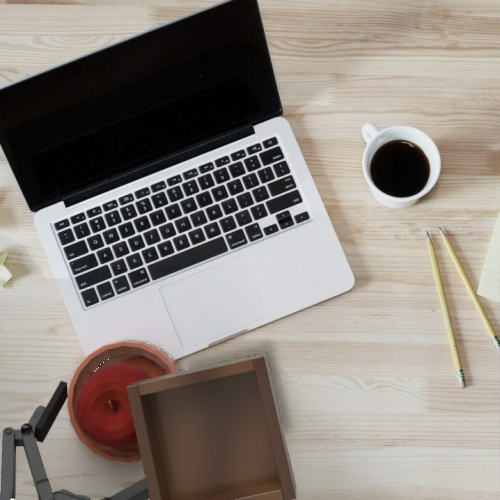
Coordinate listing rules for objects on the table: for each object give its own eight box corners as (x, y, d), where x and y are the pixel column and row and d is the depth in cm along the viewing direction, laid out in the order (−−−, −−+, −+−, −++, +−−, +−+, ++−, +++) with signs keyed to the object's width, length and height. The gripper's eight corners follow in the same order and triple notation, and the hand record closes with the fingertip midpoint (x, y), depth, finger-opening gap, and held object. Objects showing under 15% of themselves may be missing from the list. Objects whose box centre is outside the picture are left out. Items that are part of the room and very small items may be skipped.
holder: (164, 514, 63) (155, 528, 59) (136, 381, 64) (126, 386, 60) (296, 486, 63) (296, 499, 59) (266, 352, 64) (263, 356, 60)
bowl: (88, 467, 88) (80, 473, 85) (65, 353, 89) (56, 356, 86) (200, 442, 87) (196, 448, 84) (175, 329, 88) (170, 330, 85)
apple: (180, 421, 87) (165, 438, 77) (108, 448, 88) (83, 468, 78) (154, 348, 88) (135, 355, 78) (82, 375, 88) (55, 385, 78)
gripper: (-82, 564, 70) (21, 394, 85) (160, 643, 68) (220, 453, 83) (-97, 528, 65) (15, 354, 80) (164, 612, 63) (228, 417, 78)
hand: (120, 404), depth 82 cm, fingers open, 13 cm apart
